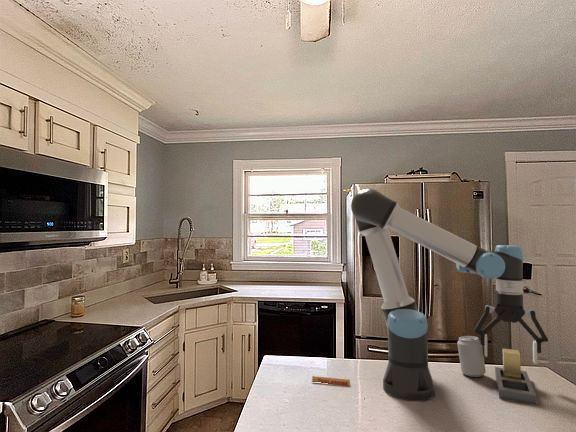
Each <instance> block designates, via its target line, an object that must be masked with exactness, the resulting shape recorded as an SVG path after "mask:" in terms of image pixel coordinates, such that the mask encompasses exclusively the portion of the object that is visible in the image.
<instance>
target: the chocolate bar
mask: <svg viewBox="0 0 576 432" xmlns="http://www.w3.org/2000/svg"><path fill="white" fill-rule="evenodd" d="M312 382H321V383H328V384H333V385H332V386H336V385H339V386H338V387H347V388H350V387H351V386H350V385H351V380H350V379H348V378H347V379H346V378H335V377H324V376H323V377H322V376H316V375H312V378H311V383H312Z"/></svg>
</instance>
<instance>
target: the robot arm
mask: <svg viewBox="0 0 576 432" xmlns="http://www.w3.org/2000/svg"><path fill="white" fill-rule="evenodd" d="M350 204H351V205H350V207H351V212H352V214H353V216H354V219H355V222H356V225H357V229H358V232H359V234H361V235H363V236H364V237H365V241H366V245H367V248H368V252H369V255H370V258H371V259H370V260H371V262H372V265H373V269H374V272H375V274H376V278H377V282H378V285H379V288H380V293H381V295H382V299H383V303H382V305H381V306H380V308H381V311H382V316H383V318H384V321H385V325H386V329H387V344H388V345H387V347H388V348H387V353H388V354H387V355H388V363H387V366H386V369H385V373H384V376H383V378H382V379H383V380H382V388H383V390H384V391H385V392H386V393H387V394H388V395H390V396H392V397H394V398H398V399H400V400H401V399H402V400H407V401H413V402H414V401H416V402H417V401H427V400H431V399H433V398H434V397H435V396H436V395H435V394H436V389H435V388H436V386H435V382H434V379H433V376H432V374H431V371H430V368H429V351H428V350H429V347H428V342H429V341H428V330H429V329H428V328H429V324H428V320H427V317H426V315H425V314H424V313H423V312H421V311H419V310H418V307H417V303H416V301H415V299H414V298H413V297H411V296H410V295H409V292H408V289H407V285H406V282H405V279H404V276H403V273H402V269H401V266H400V263H399V260H398V256H397V253H396V249H395V247H394V243H393V240H392V237H391V233H390V231H393V232H395V233H397V234H399V235H400V236H403V237H404V238H407V239H409V240H410V241H412V242H414V243H416V244H418V245H420V246H422V247H423V248H426V249H428V250H430V251H432V252H434V253H435V254H437V255H440V256H441V257H443V258H446V259H447V260H449V261H451V262H453V263H455V268H456V269H457V271H458V273H465V274H475V275H477V276H480V277H482V278H484V279H486V280H487V279H488V280H489V279H490V280H494V279H495V291H496V293H495V306H490V305H488V304H487V305H485V307H484V312H483V313H482V315H481V317H480V320H478V322H477V324H476V326H475V327H474V333H475V334H478V335H479V336H480V342H481V345H482V346H483V347H484V349H483V350H484V351H483V353H484V358H485V357H486V358H487V357H488V333H489V332H490V330H492V329H493V328H494V327H495V326H496V325H497V324H498V323H500V322H501V321H503V322H504V323H509V322H511V323H513V324H514V323H515V324H516V323H518V322H519V324H521V325H522V327H523V328H524V329H525V331H526V332H528V334H529V335H530V336H531V337H532V338H533V339H534V340H532V362H533V364H534V365H538V354H541V353H542V343H544V342H546V343H547V342H549V339H548V337H547V335H546V334H545V331H544V330H543V328H542V326H541V324H540V322H539V321H538V319H537V316H536V311H535V310H534V309H533V308H531V309H524V295H523V292H524V285H523V284H524V283H523V281H524V280H523V279H524V278H523V277H524V276H523V275H524V274H523V272H524V271H523V263H524V258H523V257H524V256H523V250H522V247H521V246H519V245H512V244H511V245H508V244H506V245H505V244H504V245H502V244H500V245H499V244H497V245H496V246H495V249H494V250H486V249H484V248H482V247H480V246H478V245H476V244H474V243H472V242H470V241H468V240H466V239H464V238H461V237H460V236H459V235H456V234H454V233H452V232H450V231H448V230H446V229H445V228H441V227H440V226H438V225H437V224H434V223H433V222H430V221H428V220H426V219H425V218H424V219H423V218H422V217H420V216H417V215H416V214H414V213H412V212H410V211H408V210H406V209H404V208H402V207H400V204H399V202H397V201H395V200H393V199H391V198H389V197H388V196H386V195H385V194H383V193H381V192H380V191H379V190H376V189H373V188H365V189H362V190H360V191H358V192H356V193H355V195H354V196H353V197H352V200H351V203H350ZM493 312H495V313H496V316H495V317H494V318H493V319H492V320H491V321H490V322H489V323H488V324H487V325H486V326H485V327H484V328H482V327H483V325H484V323H485V322H486V321H487V319H488V317H489V315H490V314H492V313H493ZM525 315H527V316H528V318H530V319H531V320H532V322H533V324H534V326H535V328H536V329H537V331H538V334H539V335H540V337H539V336H538V335H537V333H535V332H534V330H533V329H532V328H531V327H530V326H529V325H528V324H527V322H526V321H525V320H524V319H523V317H524V316H525Z"/></svg>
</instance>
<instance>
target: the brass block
mask: <svg viewBox="0 0 576 432" xmlns="http://www.w3.org/2000/svg"><path fill="white" fill-rule="evenodd" d="M521 364H522V363H521V354H520V351H519V349H511V348H502V368H503V377H506V378H513V379H520V380H521V371H522V369H521Z"/></svg>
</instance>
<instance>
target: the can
mask: <svg viewBox="0 0 576 432" xmlns="http://www.w3.org/2000/svg"><path fill="white" fill-rule="evenodd" d="M456 345H457V349H458V358H459V364H460V370H461V373H463V375H465V376H467V377H471V378H472V377H473V378H474V377H475V378H481V377H482V376H484V375H485V374H486V373H487V370H486V364H485V355H484V351H483V350H484V349H483V345H481V340H479V337H477V336H473V335H464V336H460V337H459V338H458V341H457V344H456Z"/></svg>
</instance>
